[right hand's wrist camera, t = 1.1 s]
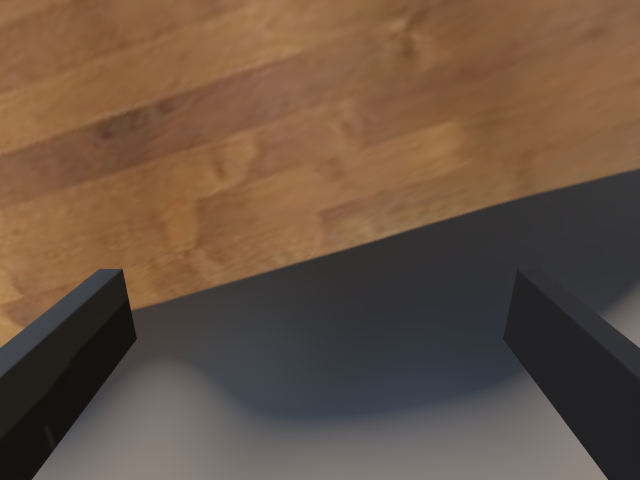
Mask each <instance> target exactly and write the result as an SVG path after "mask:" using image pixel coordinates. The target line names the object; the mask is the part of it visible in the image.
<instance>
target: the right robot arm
mask: <svg viewBox="0 0 640 480" xmlns="http://www.w3.org/2000/svg"><path fill="white" fill-rule="evenodd" d="M136 339H137V338H136V333H135V328H134V323H133V318H132V313H131V308H130V303H129V299H128V294H127V289H126V284H125V279H124V274H123V269H99V270H98V271H96V272H95V273H94V274H93V275H91V276H90V277H89V278H88V279H86V280H85V281H84V282H83V283H81V284H80V285H79V286H78V287H76V288H75V289H74V290H73V291H71V292H70V293H69V294H68V295H66V296H65V297H64V298H63V299H61V300H60V301H59V302H58V303H56V304H55V305H54V306H53V307H51V308H50V309H49V310H48V311H46V312H45V313H44V314H43V315H41V316H40V317H39V318H38V319H36V320H35V321H34V322H32V323H31V324H30V325H29V326H27V327H26V328H25V329H24V330H22V331H21V332H20V333H19V334H17V335H16V336H15V337H14V338H12V339H11V340H10V341H9V342H7V343H6V344H5V345H4V346H2V347H1V348H0V480H32V479H33V477H34V476H35V475H36V473H37V472H38V471H39V469H40V468H41V467H42V465H43V464H44V463H45V461H46V460H47V459H48V457H49V456H50V455H51V453H52V452H53V451H54V449H55V448H56V446H57V445H58V444H59V442H60V441H61V440H62V438H63V437H64V436H65V434H66V433H67V432H68V430H69V429H70V428H71V426H72V425H73V424H74V422H75V421H76V420H77V418H78V417H79V416H80V414H81V413H82V412H83V410H84V409H85V408H86V406H87V405H88V404H89V402H90V401H91V400H92V398H93V397H94V396H95V394H96V393H97V392H98V390H99V389H100V388H101V386H102V385H103V383H104V382H105V381H106V379H107V378H108V377H109V375H110V374H111V373H112V371H113V370H114V369H115V367H116V366H117V365H118V363H119V362H120V361H121V359H122V358H123V357H124V355H125V354H126V353H127V351H128V350H129V349H130V347H131V346H132V345H133V343H134V342H135V341H136ZM503 339H504V341H505V342H506V343H507V345H508V346H509V347H510V349H511V350H512V351H513V353H514V354H515V355H516V357H517V358H518V359H519V361H520V362H521V363H522V365H523V366H524V367H525V369H526V370H527V371H528V373H529V374H530V375H531V377H532V378H533V379H534V381H535V382H536V383H537V385H538V386H539V388H540V389H541V390H542V392H543V393H544V394H545V396H546V397H547V398H548V399H549V401H550V402H551V404H552V405H553V406H554V408H555V409H556V410H557V412H558V413H559V414H560V416H561V417H562V418H563V420H564V421H565V422H566V424H567V425H568V426H569V428H570V429H571V430H572V432H573V433H574V434H575V436H576V437H577V438H578V440H579V441H580V442H581V444H582V445H583V447H584V448H585V449H586V451H587V452H588V453H589V455H590V456H591V457H592V458H593V460H594V461H595V463H596V464H597V465H598V467H599V468H600V469H601V471H602V472H603V473H604V475H605V476H606V477H607V479H608V480H640V348H639V347H637V346H636V345H635V344H634V343H633V342H631V341H630V340H629V339H628V338H626V337H625V336H624V335H622V334H621V333H620V332H619V331H617V330H616V329H615V328H614V327H612V326H611V325H610V324H609V323H608V322H606V321H605V320H604V319H602V318H601V317H600V316H599V315H597V314H596V313H595V312H594V311H592V310H591V309H590V308H589V307H587V306H586V305H585V304H584V303H582V302H581V301H580V300H579V299H577V298H576V297H575V296H574V295H572V294H571V293H570V292H569V291H567V290H566V289H565V288H564V287H562V286H561V285H560V284H559V283H557V282H556V281H555V280H554V279H552V278H551V277H550V276H549V275H547V274H546V273H545V272H544V271H542V270H541V269H518V270H517V274H516V279H515V284H514V289H513V294H512V299H511V303H510V308H509V313H508V318H507V323H506V328H505V333H504V337H503Z"/></svg>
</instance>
